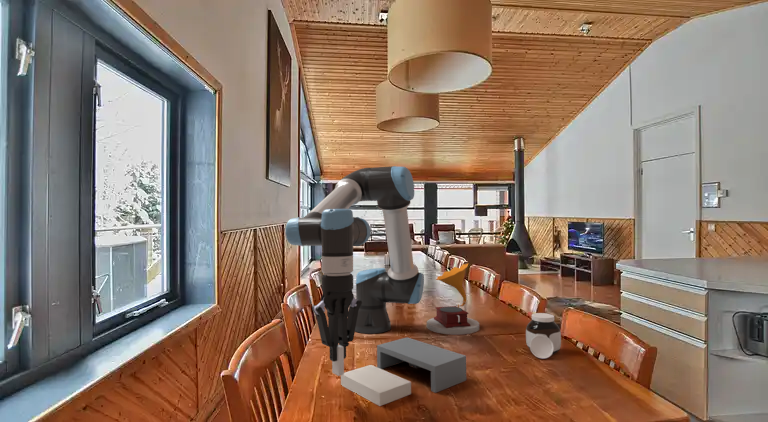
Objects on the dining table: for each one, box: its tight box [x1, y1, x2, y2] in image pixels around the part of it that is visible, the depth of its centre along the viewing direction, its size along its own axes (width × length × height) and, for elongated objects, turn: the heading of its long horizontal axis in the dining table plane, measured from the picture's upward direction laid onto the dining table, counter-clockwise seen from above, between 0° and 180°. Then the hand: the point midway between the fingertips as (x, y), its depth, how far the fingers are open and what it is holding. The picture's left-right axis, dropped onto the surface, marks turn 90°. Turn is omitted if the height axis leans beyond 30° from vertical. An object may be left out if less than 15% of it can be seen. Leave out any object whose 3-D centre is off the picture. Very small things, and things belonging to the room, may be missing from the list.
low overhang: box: [376, 337, 467, 394], centre depth 117 cm, size 23×12×6 cm, turn 40°
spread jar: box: [525, 312, 562, 360], centre depth 132 cm, size 12×11×12 cm
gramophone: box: [426, 263, 480, 336], centre depth 165 cm, size 20×20×25 cm
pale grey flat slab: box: [340, 364, 412, 407], centre depth 106 cm, size 16×10×3 cm, turn 40°
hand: (338, 373), depth 99 cm, fingers closed
